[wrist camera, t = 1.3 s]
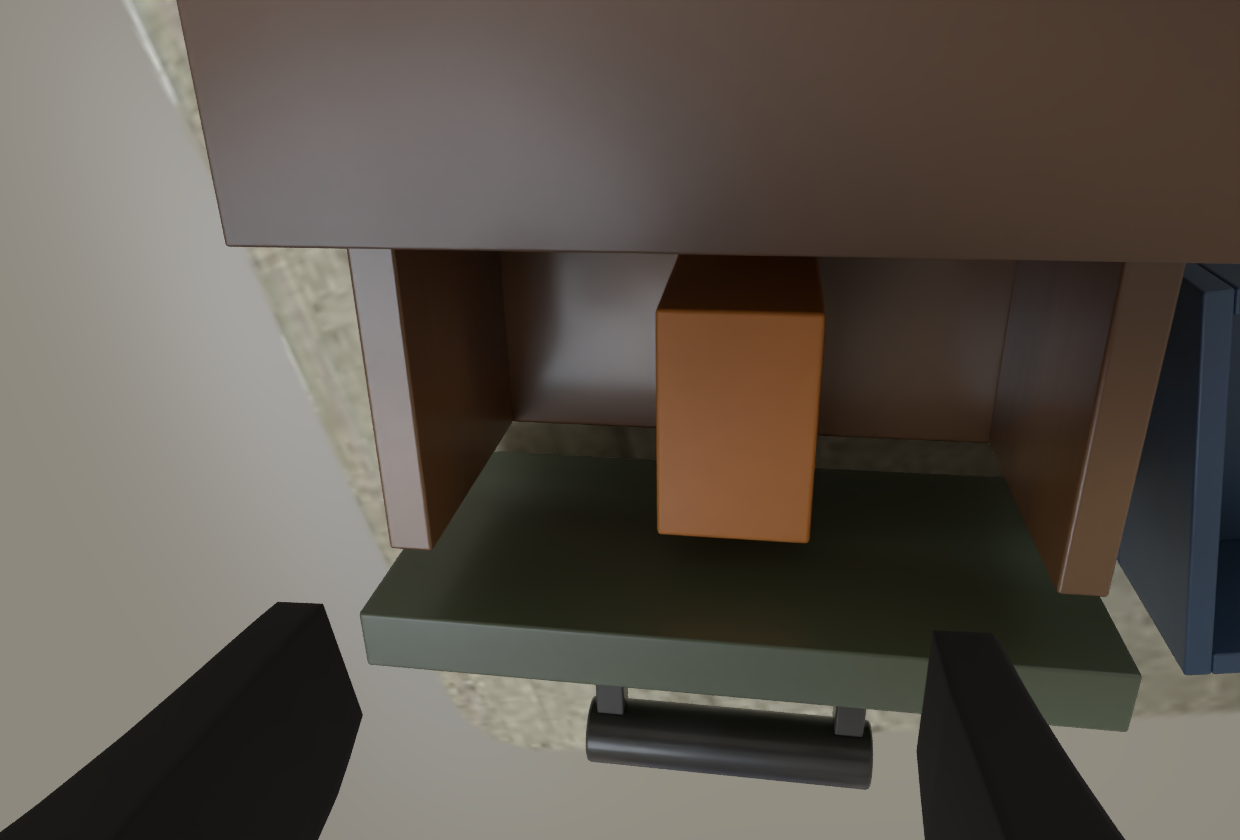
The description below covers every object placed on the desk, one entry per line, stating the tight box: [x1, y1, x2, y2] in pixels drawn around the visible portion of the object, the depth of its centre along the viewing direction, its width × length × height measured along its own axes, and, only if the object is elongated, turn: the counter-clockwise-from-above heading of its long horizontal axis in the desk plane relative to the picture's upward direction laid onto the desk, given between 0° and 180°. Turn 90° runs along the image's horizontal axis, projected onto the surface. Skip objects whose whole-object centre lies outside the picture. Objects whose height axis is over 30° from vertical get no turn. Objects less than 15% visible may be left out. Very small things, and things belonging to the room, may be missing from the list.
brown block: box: [655, 254, 826, 543], centre depth 18 cm, size 4×3×4 cm, turn 1°
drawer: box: [347, 249, 1186, 790], centre depth 18 cm, size 17×13×7 cm
